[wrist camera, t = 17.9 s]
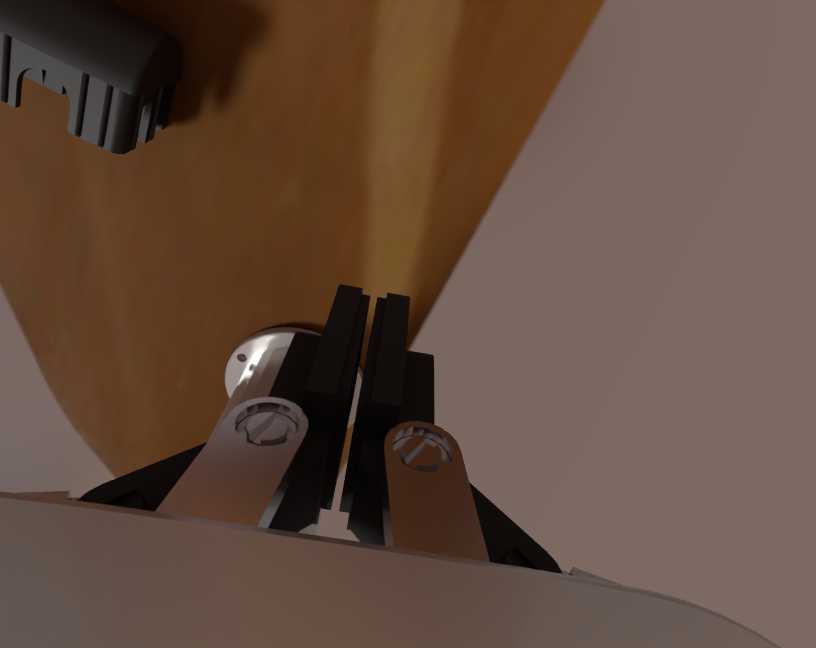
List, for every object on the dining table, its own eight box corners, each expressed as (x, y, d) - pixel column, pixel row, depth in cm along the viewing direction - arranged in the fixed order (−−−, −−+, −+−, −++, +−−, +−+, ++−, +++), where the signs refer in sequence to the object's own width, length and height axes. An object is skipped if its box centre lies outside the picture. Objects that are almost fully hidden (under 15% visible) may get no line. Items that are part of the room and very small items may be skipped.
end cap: (196, 31, 33) (145, 40, 27) (172, 135, 36) (122, 163, 31) (30, -57, 31) (-63, -66, 25) (22, 63, 34) (-61, 78, 29)
